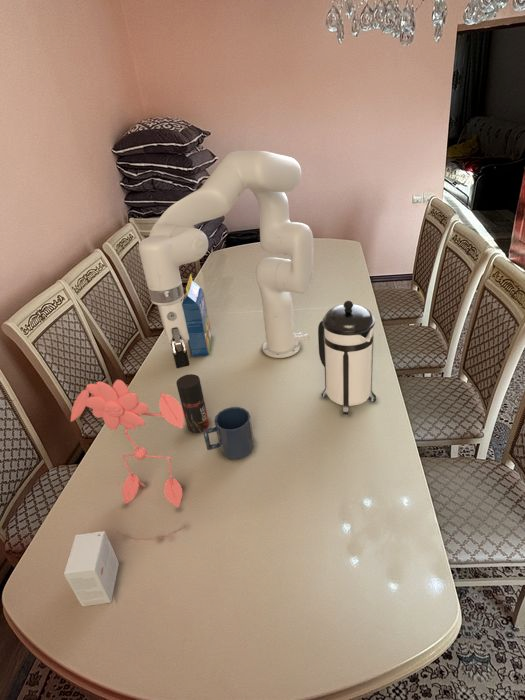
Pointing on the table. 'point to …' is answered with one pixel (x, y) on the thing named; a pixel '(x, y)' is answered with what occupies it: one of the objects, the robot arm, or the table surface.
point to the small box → (92, 568)
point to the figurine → (130, 426)
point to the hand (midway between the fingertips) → (180, 356)
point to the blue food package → (196, 319)
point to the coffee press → (347, 354)
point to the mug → (232, 433)
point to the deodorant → (193, 403)
